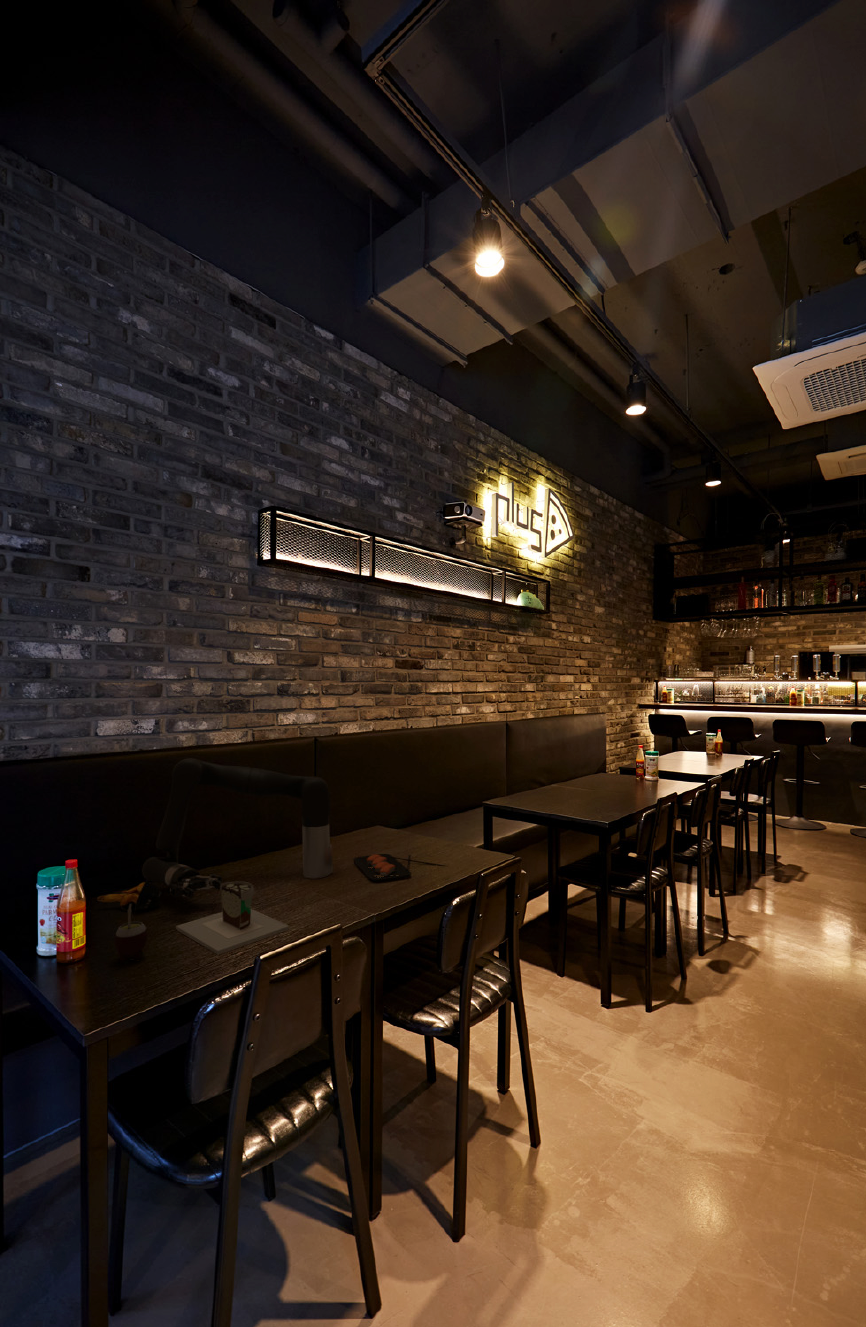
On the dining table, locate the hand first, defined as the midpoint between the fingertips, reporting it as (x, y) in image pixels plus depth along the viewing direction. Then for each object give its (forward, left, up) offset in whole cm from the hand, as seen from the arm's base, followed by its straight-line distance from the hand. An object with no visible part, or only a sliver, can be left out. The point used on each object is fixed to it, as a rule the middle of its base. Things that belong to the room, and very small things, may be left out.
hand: (207, 890), depth 174 cm
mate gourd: (+25, +12, -8) cm, 29 cm away
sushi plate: (-68, +8, -8) cm, 69 cm away
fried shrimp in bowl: (+12, -24, -8) cm, 28 cm away
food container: (-3, +14, -6) cm, 16 cm away
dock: (0, +14, -7) cm, 16 cm away
